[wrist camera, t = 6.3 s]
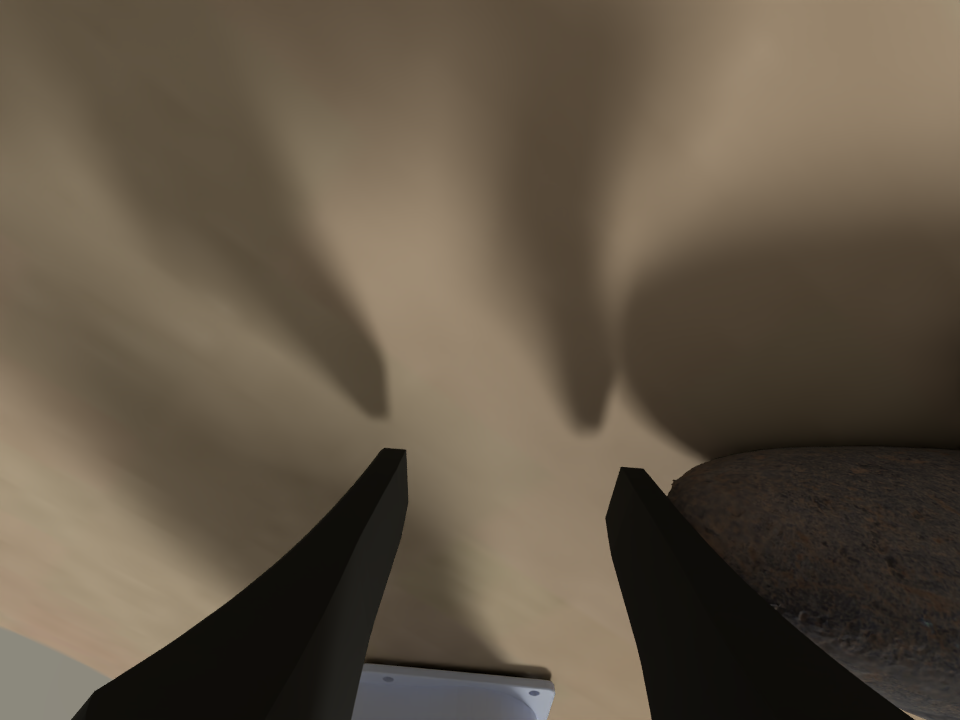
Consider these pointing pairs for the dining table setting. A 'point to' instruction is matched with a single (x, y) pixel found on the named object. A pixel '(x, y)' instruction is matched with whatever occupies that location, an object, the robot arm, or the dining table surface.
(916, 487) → the perforated stone tool
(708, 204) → the dining table surface
